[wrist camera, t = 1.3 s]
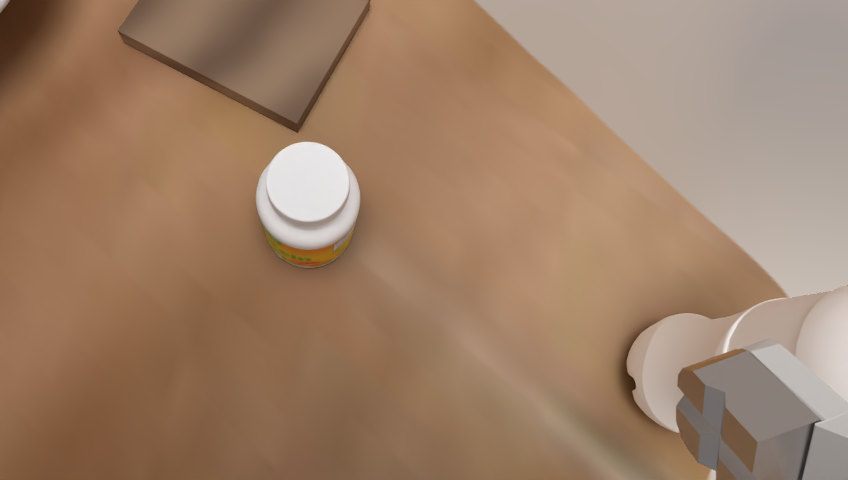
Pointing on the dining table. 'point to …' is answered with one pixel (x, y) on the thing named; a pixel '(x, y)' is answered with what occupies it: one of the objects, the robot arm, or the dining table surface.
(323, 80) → the walnut board
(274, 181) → the supplement bottle
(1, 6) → the soup bowl
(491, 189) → the dining table surface
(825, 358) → the water bottle
